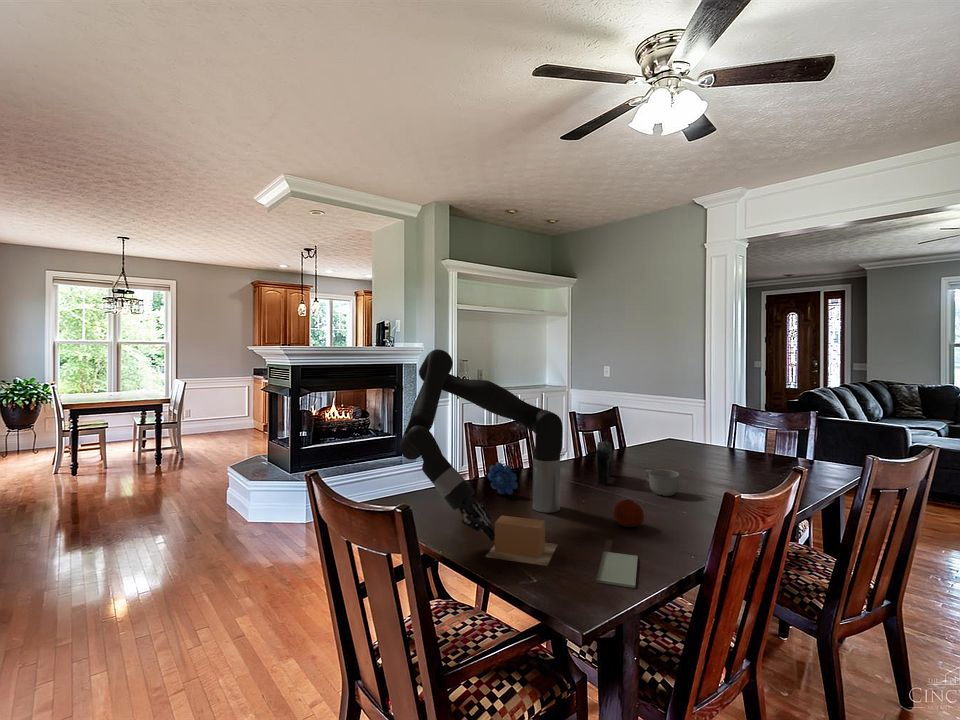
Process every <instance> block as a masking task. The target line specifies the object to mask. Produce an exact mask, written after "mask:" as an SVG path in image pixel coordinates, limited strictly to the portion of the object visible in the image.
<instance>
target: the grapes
mask: <svg viewBox="0 0 960 720" xmlns="http://www.w3.org/2000/svg"><path fill="white" fill-rule="evenodd" d="M487 479H488V480H489V481H491V482H490V486H491V488H492V489H493V490H497V492H498V494H500V495H502V494H503V495H505V494H507V495H512V494H513V493H514V490H516V489H518V483H517V481H516V480H517V479H518V478H517V474H516V473H515V472H512V468H511V466H510V465H508V464H505V465H504V464H503V463H502V462H499V461H497V462H496V464H495V465H490V466H489V473H487Z"/></svg>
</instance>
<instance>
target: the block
mask: <svg viewBox="0 0 960 720" xmlns="http://www.w3.org/2000/svg"><path fill="white" fill-rule="evenodd" d="M494 529H495V540H494V545H495V551H496V552H503V553H510V554H517V555H524V556H531V557H538V558H540V557H541V555H542V553H543V551H544V549H545V543H546V521H545V520H541V519H534V518H525V517H516V516H508V515H500V516H499V518H497V519H496V521H495V522H494Z"/></svg>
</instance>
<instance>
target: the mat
mask: <svg viewBox="0 0 960 720" xmlns="http://www.w3.org/2000/svg"><path fill="white" fill-rule="evenodd" d="M638 560H639V559H638V555H633V554H625V553H618V552H609V551H605V550H603V551H602V554H601V559H600V563H599V567H598V570H597V574H596V578H595V583H598V584H599V583H600V584H604V585H610V586H611V585H613V586H618V587H619V586H620V587H625V588H631V589H636V584H637V583H636V580H637V571H638Z"/></svg>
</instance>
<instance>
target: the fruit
mask: <svg viewBox="0 0 960 720" xmlns="http://www.w3.org/2000/svg"><path fill="white" fill-rule="evenodd" d="M612 513H613V514H612V515H613V519H614V520H615V521H616V522H617V523H618V525H621V526H622V527H626V528H635V527H638V526H641V524H642V523H643V522H644V520H645V519H644V518H645V515H644V509H643V508H642V507H641V505H639V504H638V503H636V502H635V501H633V500H632V499H623V500H621V501H619V502H618V503H616V504H615V506H614V508H613V512H612Z"/></svg>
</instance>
